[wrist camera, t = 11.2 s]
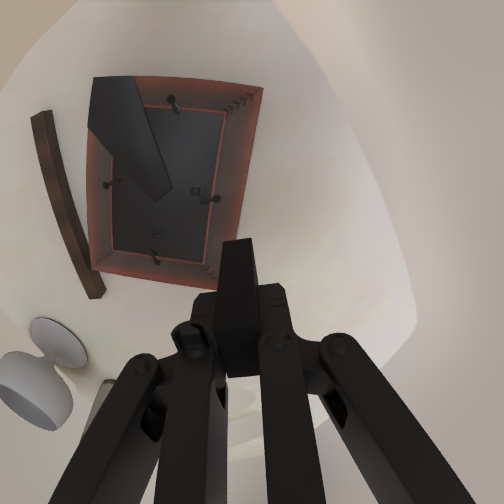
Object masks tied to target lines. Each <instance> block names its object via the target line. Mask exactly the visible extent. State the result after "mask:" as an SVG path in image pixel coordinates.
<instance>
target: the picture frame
mask: <svg viewBox="0 0 504 504" xmlns="http://www.w3.org/2000/svg"><path fill="white" fill-rule="evenodd" d="M262 93H263V88H261V87H256V86H250V85H243V84H237V83H230V82H222V81H214V80H204V79H193V78H180V77H160V76H109V77H94V78H93V84H92V91H91V98H90V106H89V115H88V126H87V127H88V139H87V163H86V198H87V222H88V237H89V249H90V259H91V267H92V270H96V271H101V272H106V273H112V274H117V275H123V276H129V277H134V278H140V279H146V280H152V281H158V282H165V283H171V284H177V285H184V286H190V287H197V288H204V289H211V290H217V286H218V278H219V269H220V261H221V253H222V244H223V241H230V240H236V236H237V230H238V224H239V218H240V212H241V207H242V201H243V195H244V190H245V184H246V179H247V173H248V168H249V162H250V157H251V151H252V146H253V140H254V135H255V130H256V124H257V119H258V114H259V109H260V104H261V99H262Z"/></svg>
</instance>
